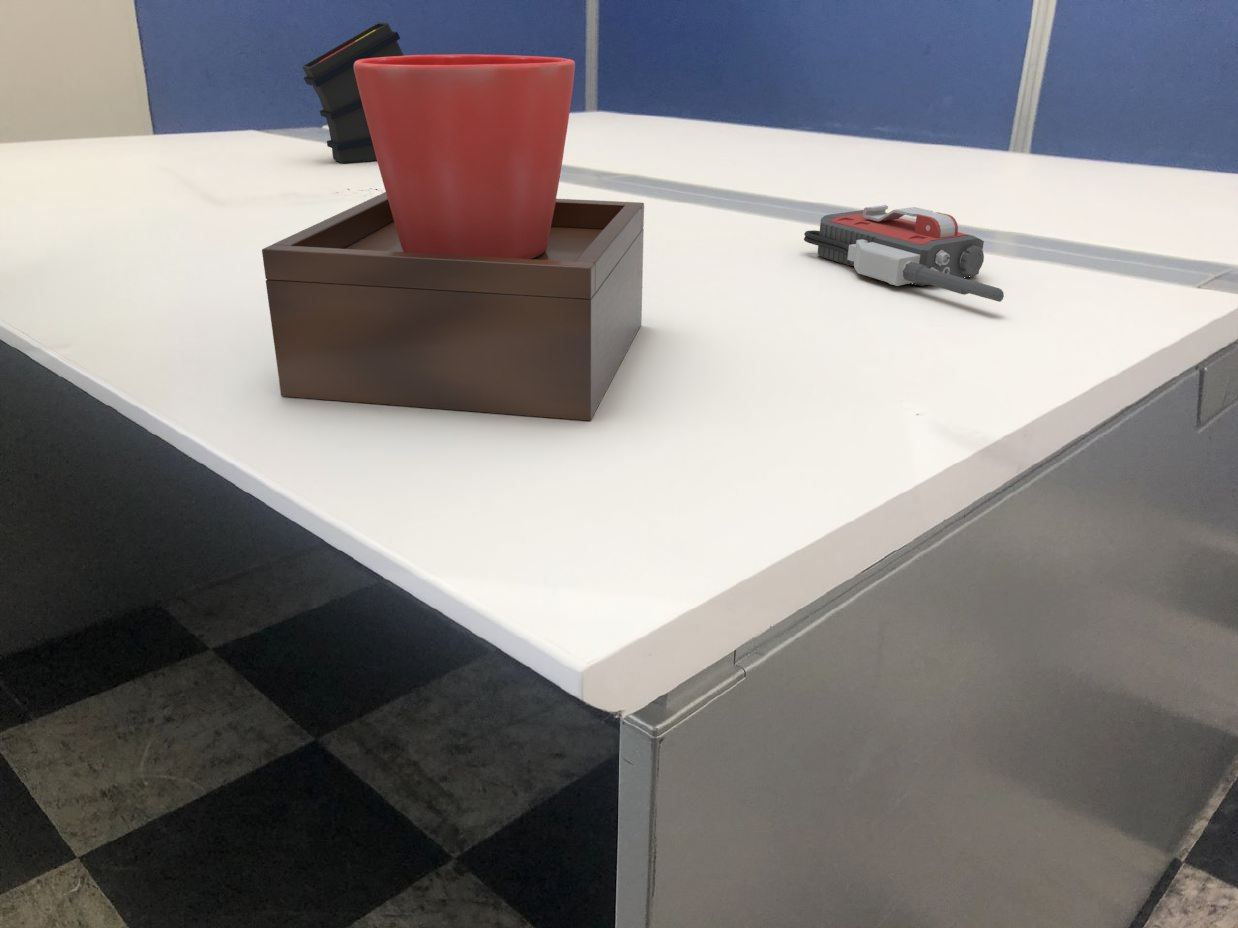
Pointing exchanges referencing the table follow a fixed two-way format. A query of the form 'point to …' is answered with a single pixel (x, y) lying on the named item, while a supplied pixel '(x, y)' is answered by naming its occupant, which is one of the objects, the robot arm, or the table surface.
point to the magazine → (349, 90)
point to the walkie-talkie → (904, 248)
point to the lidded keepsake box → (457, 314)
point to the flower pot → (469, 148)
